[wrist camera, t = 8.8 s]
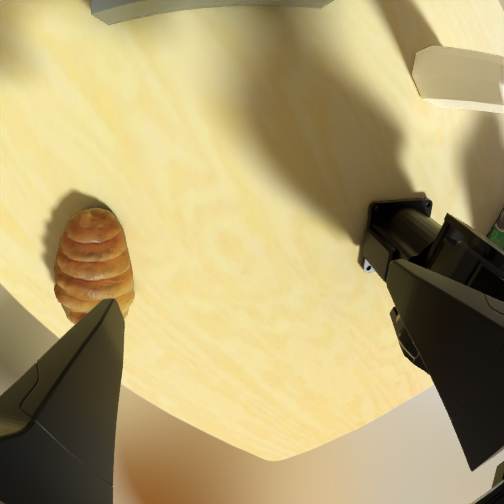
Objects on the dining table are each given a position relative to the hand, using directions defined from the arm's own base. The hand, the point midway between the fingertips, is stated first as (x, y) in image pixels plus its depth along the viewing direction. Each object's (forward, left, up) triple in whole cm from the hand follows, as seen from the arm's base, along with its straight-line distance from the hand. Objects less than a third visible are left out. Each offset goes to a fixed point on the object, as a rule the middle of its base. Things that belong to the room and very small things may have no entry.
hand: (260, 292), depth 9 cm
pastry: (+11, +6, -14) cm, 19 cm away
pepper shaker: (-17, -8, -13) cm, 23 cm away
